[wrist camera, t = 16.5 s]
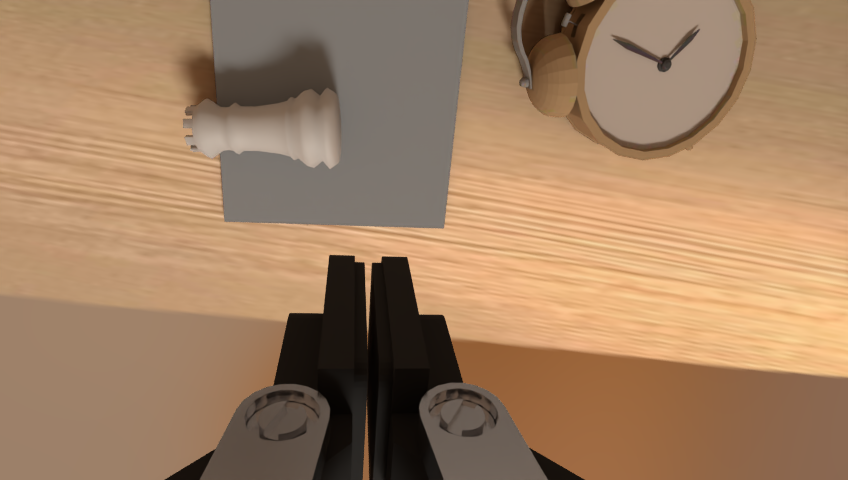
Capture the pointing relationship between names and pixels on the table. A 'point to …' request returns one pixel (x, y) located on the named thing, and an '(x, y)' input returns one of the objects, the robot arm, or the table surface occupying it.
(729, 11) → the alarm clock
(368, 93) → the mat
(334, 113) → the rook chess piece
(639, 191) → the table surface
